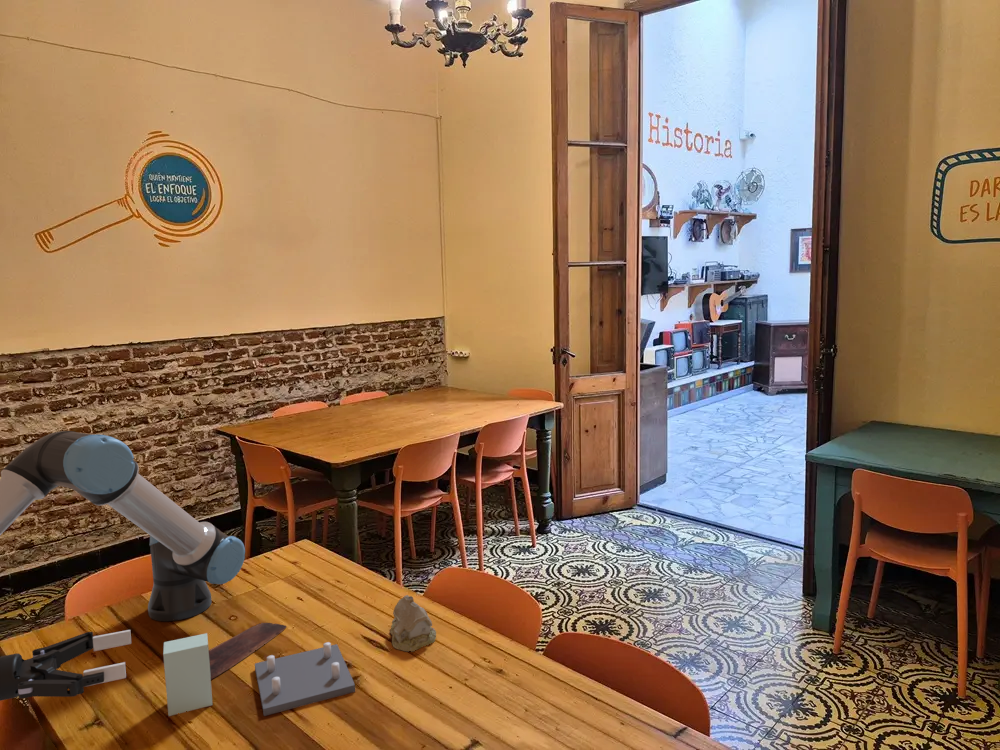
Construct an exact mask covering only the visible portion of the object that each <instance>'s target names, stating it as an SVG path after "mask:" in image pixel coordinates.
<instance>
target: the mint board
mask: <svg viewBox="0 0 1000 750" xmlns="http://www.w3.org/2000/svg"><path fill="white" fill-rule="evenodd" d="M208 639H209V638H208V632H205V633H201V634H197V635H192V636H187V637H183V638H182V637H181V638H177V639H174V640H173V639H172V640H168V641H164V642H163V651H162V652H163V653H162V655H163V666H164V678H165V679H164V680H165V688H166V692H165V693H166V702H167V713H168V717H172V716H175V715H179V714H183V713H187V712H189V711H190V712H191V711H195V710H198V709H202V708H206V707H210V706H213V695H212V694H213V693H212V692H213V691H212V681H211V680H212V679H211V676H210V663H209V650H210V649H209V641H208ZM186 711H187V712H186ZM178 713H179V714H178Z"/></svg>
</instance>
